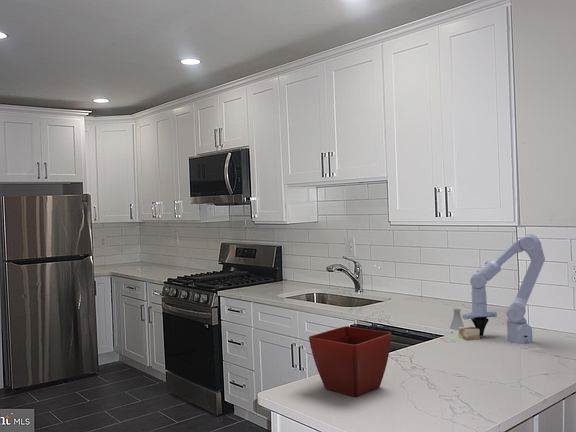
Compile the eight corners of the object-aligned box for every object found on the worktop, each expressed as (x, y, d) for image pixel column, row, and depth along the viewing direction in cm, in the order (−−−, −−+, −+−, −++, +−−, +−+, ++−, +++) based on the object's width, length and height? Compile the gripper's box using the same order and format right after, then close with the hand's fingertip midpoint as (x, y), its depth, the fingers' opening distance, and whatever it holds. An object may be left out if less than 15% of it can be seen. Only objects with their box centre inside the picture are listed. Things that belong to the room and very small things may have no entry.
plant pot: (308, 389, 169) (307, 335, 169) (347, 375, 182) (345, 325, 182) (357, 403, 155) (355, 345, 155) (395, 386, 169) (393, 333, 169)
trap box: (489, 342, 219) (489, 338, 219) (447, 346, 215) (447, 342, 215) (479, 338, 226) (479, 334, 226) (439, 342, 222) (439, 338, 222)
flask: (455, 334, 235) (454, 311, 235) (446, 330, 242) (445, 308, 242) (469, 332, 237) (468, 310, 237) (460, 329, 244) (459, 307, 244)
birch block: (479, 339, 219) (479, 329, 219) (466, 340, 218) (466, 330, 218) (471, 335, 225) (471, 326, 225) (458, 337, 223) (458, 327, 223)
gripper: (489, 299, 228) (490, 332, 228) (458, 302, 225) (459, 334, 225) (499, 302, 221) (500, 335, 221) (467, 305, 218) (468, 338, 218)
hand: (480, 335), depth 222 cm, fingers closed
